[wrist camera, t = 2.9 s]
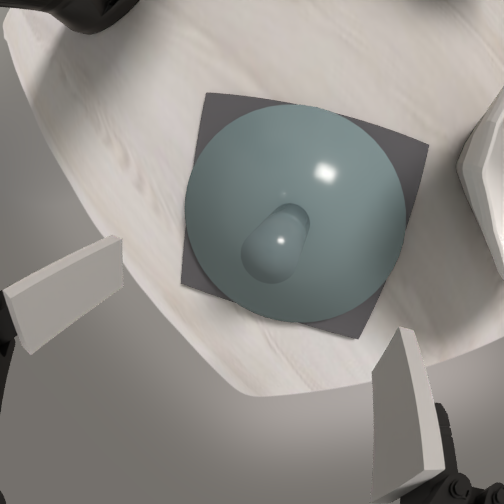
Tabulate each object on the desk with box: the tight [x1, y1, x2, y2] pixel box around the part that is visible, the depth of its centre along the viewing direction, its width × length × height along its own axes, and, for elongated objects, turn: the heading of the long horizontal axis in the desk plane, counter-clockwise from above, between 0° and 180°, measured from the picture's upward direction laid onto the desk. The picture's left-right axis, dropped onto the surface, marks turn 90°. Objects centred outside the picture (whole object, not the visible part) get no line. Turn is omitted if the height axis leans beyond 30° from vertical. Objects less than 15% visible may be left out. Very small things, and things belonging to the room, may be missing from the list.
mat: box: [181, 93, 429, 339], centre depth 24 cm, size 20×20×1 cm
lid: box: [185, 105, 406, 323], centre depth 20 cm, size 20×20×9 cm
